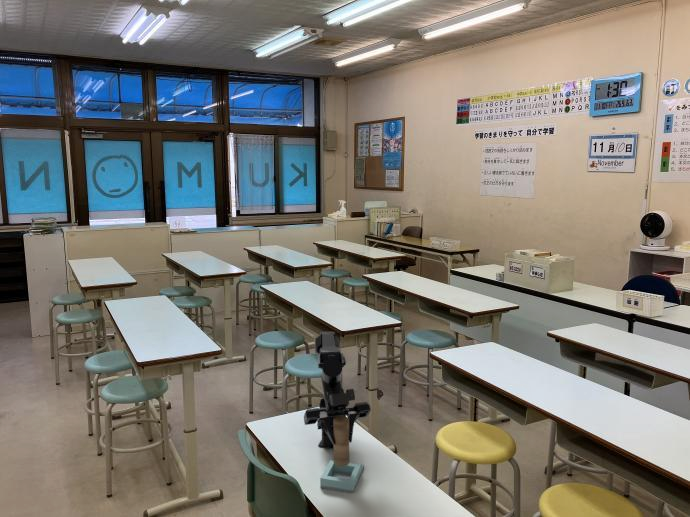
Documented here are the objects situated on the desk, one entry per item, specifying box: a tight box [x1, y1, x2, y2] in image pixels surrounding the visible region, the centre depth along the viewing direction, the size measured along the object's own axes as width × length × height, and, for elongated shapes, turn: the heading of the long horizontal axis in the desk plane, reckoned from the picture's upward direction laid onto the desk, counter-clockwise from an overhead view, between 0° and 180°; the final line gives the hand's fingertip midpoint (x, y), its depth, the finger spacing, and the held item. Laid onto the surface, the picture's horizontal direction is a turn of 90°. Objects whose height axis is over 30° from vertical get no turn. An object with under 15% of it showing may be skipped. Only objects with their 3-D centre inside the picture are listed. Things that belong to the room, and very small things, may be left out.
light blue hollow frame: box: [319, 459, 365, 494], centre depth 155 cm, size 13×9×3 cm
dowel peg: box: [333, 416, 350, 467], centre depth 151 cm, size 4×4×13 cm
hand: (342, 443), depth 150 cm, fingers closed on dowel peg, 4 cm apart
